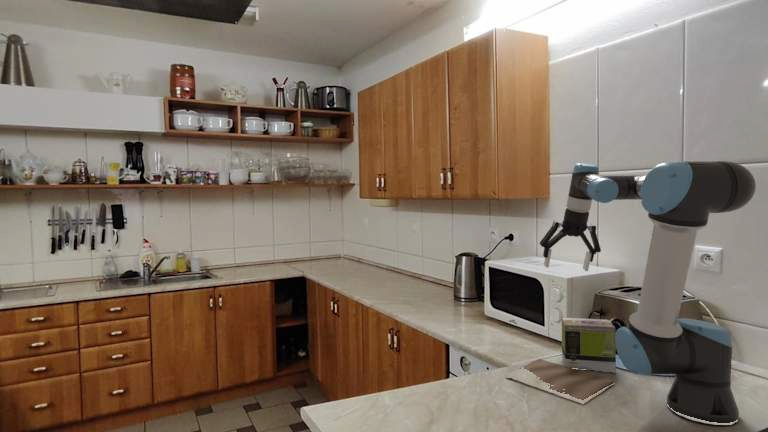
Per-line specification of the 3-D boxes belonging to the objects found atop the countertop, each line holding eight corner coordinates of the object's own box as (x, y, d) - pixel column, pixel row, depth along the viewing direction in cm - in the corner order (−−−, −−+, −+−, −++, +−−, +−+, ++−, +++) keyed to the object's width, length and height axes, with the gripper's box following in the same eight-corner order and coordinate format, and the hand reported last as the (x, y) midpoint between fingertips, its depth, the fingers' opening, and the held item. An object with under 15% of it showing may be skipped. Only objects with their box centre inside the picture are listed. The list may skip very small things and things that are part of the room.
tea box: (609, 362, 152) (610, 318, 151) (616, 374, 143) (616, 327, 142) (561, 358, 156) (561, 315, 155) (564, 369, 147) (564, 324, 146)
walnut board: (613, 384, 135) (614, 380, 135) (582, 404, 122) (583, 400, 122) (539, 362, 153) (539, 358, 153) (506, 377, 141) (506, 373, 141)
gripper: (610, 210, 158) (597, 267, 164) (537, 203, 159) (527, 260, 164) (619, 215, 151) (606, 275, 157) (543, 208, 151) (532, 268, 157)
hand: (565, 268), depth 160 cm, fingers open, 13 cm apart
